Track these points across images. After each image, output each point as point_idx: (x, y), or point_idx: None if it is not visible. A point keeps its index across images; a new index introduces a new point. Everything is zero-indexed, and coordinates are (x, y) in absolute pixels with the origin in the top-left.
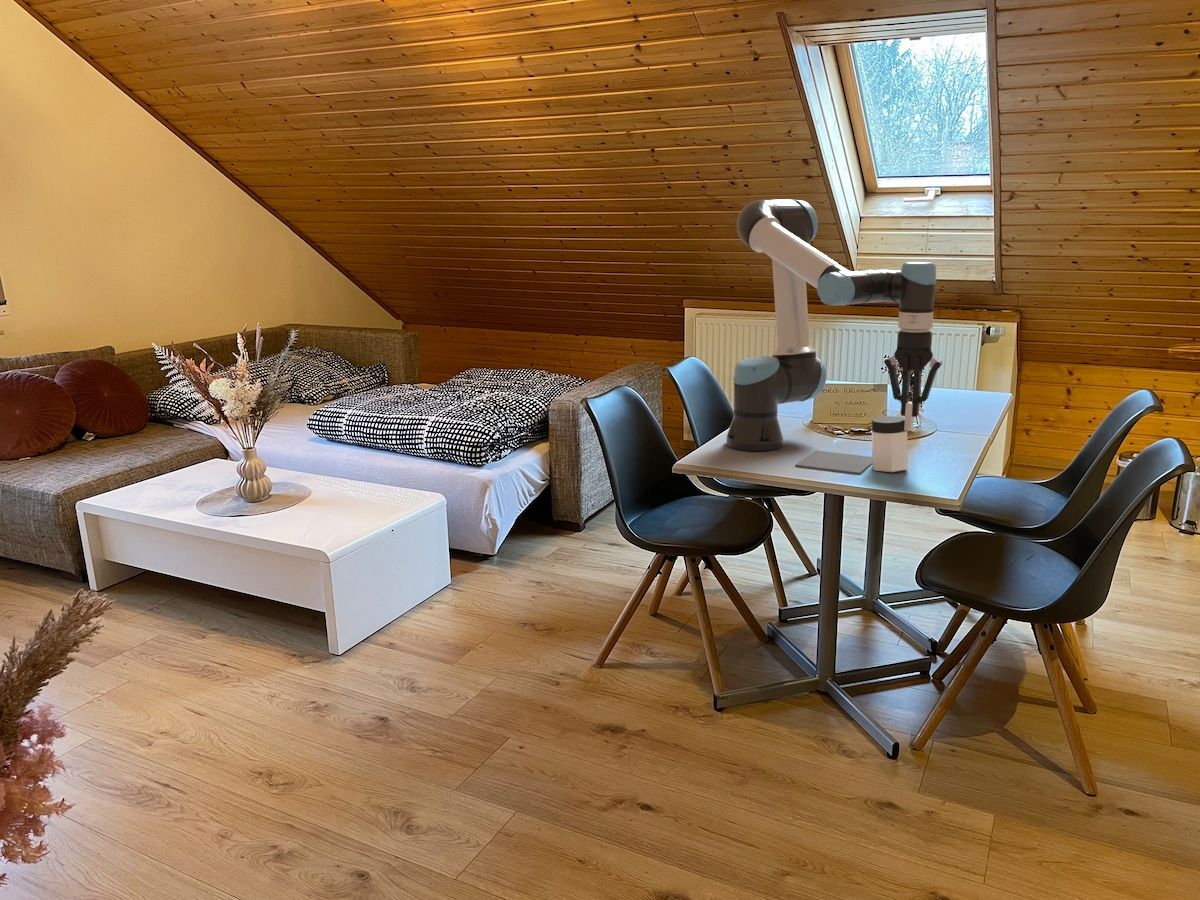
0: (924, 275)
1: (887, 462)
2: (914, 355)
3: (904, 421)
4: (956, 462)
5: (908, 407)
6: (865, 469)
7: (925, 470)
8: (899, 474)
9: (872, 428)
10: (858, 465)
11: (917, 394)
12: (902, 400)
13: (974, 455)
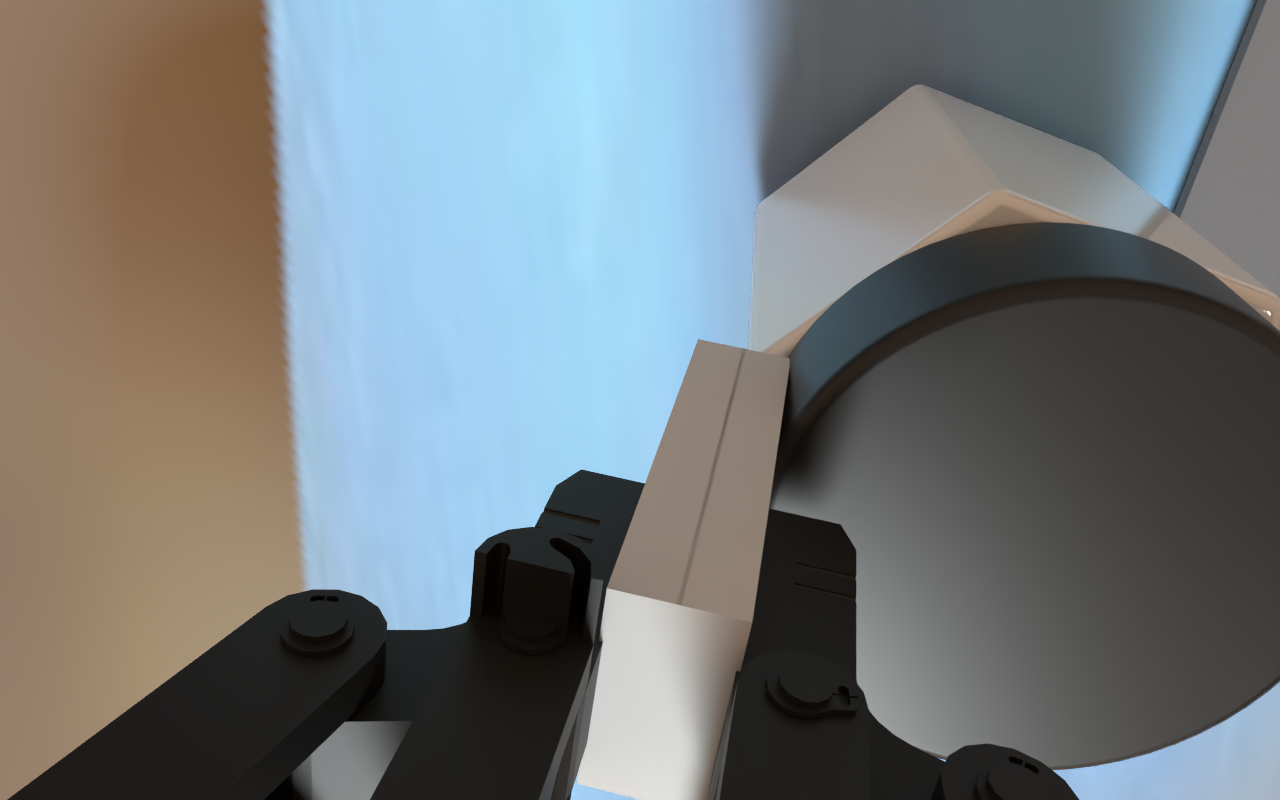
0: None
1: (975, 117)
2: None
3: (785, 430)
4: (410, 597)
5: (698, 557)
6: (1191, 172)
7: (607, 316)
8: (833, 105)
9: None
10: (1267, 262)
11: (417, 747)
12: (834, 694)
13: None
